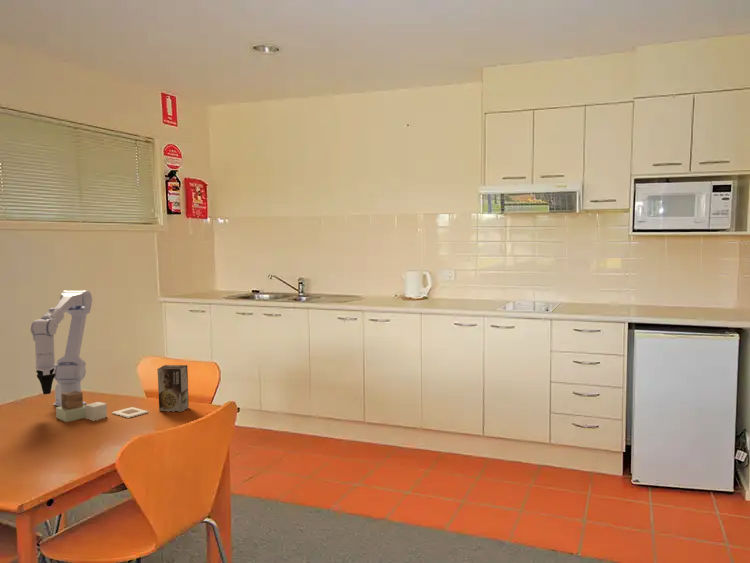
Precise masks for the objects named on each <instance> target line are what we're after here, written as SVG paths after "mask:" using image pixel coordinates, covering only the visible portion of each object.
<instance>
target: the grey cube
mask: <svg viewBox="0 0 750 563" xmlns="http://www.w3.org/2000/svg"><path fill="white" fill-rule="evenodd" d="M84 405H85V414H86V418H85V419H87V420H88V419H89V421H91V422H94V421H95V420H96V421H99V419H100V420H102V418H103V419H106V418H105V417H107V418H108V408H107V407H108V405H107V403H105V402H102V401H101V402H100V401H96V402H91V403H86V404H84ZM96 421H95V422H96Z"/></svg>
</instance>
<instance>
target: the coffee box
mask: <svg viewBox="0 0 750 563" xmlns="http://www.w3.org/2000/svg"><path fill="white" fill-rule="evenodd" d="M188 374H189V373H188V365H185V364H184V365H183V364H180V365H179V364H175V365H174V364H170V365H169V364H164V365H162V366H161V367H159V368H157V384H158V386H157V387H158V388H157V390H158V412H160V411H167V412H168V413H169V412H170V411H172V413H173V412H175V411H178V412H179V413H183V412H184V411H186V410H187V409H189V408H190V407H189V406H190V405H189V402H190V401H189V379H188V378H189V376H188ZM188 407H189V408H188ZM185 409H186V410H185ZM182 411H183V412H182ZM167 412H166V413H167ZM170 413H171V412H170ZM175 413H176V412H175Z"/></svg>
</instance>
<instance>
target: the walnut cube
mask: <svg viewBox="0 0 750 563" xmlns="http://www.w3.org/2000/svg"><path fill="white" fill-rule="evenodd" d="M83 397H84V396H83V392H82V391H81V392H79V391H71V392H66V393H61V400H62V408H65V409H68V410H70V409H74V408H79V407H83V405H84V404H83V402H84V399H83Z"/></svg>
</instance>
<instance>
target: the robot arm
mask: <svg viewBox="0 0 750 563" xmlns="http://www.w3.org/2000/svg"><path fill="white" fill-rule="evenodd" d="M92 303H93V298H92V293H91V292H90V291H89V290H88V289H87V290H66V289H65V290H63V291H62V292H61V293H60V295H59V302H58V303H57V304H56V305H55V307H50V308H49V309H48V310H47V311H46V312H45V313H44V314H43V315H42V316H41V317H40V319H38V318H37V319H35V320H33V321H32V323H31V326H30V333H31V335H32V340H33V342H34V348H35V350H34V351H35V367H34V368H35V370H36V371H35V372H36V373H37V374H36V378H37V379H38V381H39V382H40V383H39V384H40V387H41V390H42V394H43V395H49V394H51V393H52V392H51V391H52V389H53V388H52V386H53V382H54V380H55V381H56V382H57V383H56V385H55V388H54V393H55V394H54V397H55V402H53V403H52V404H53V405H54V406H56V407H61V406H62V400H61V393H66V392H71V391H79V392H82V384H81V383H82V381H83V380H84V378H85V376H86V371H87V370H86V362H85V360H84V359H83V358H82V357H80V354H81V347H82V341H83V336H84V331H85V325H86V321H87V315H89V314H90V312H91V309H92V305H93V304H92ZM65 313H67V314H68V315H70V316H71V320H70V325H69V329H68V336H67V340H66V347H65V351H64V352H65V353H64V355H63V356H62V357H60V358H59V359H57V361H55V343H54V342H55V340H54V336H55V335H56V334H57V330H58V329H57V328H58V327H59V324H60V323H61V322H62V320H64V318H65ZM55 362H56V363H55ZM83 405H87V402H86V401H83Z"/></svg>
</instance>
